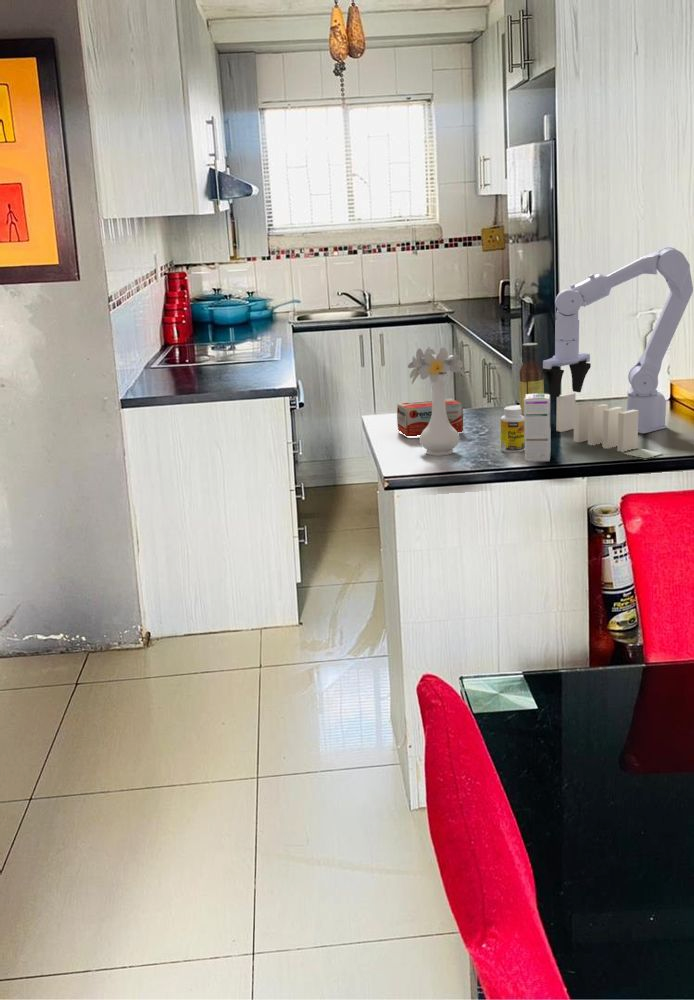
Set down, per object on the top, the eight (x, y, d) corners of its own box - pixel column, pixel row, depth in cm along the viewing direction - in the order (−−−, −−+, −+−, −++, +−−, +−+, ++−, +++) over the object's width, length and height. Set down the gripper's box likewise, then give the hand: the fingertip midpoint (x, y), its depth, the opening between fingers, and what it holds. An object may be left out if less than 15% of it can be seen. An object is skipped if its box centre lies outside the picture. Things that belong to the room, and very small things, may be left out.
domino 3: (587, 444, 251) (588, 407, 248) (602, 440, 253) (603, 403, 251) (592, 445, 249) (593, 408, 247) (607, 442, 252) (608, 404, 249)
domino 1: (556, 430, 265) (556, 395, 263) (570, 427, 268) (570, 392, 265) (561, 431, 264) (561, 396, 261) (574, 428, 267) (575, 393, 264)
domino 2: (573, 441, 254) (574, 404, 252) (587, 437, 257) (588, 401, 254) (578, 442, 253) (579, 405, 250) (592, 438, 256) (593, 402, 253)
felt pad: (641, 450, 243) (641, 448, 243) (662, 454, 239) (662, 453, 238) (624, 454, 240) (624, 453, 240) (645, 459, 235) (645, 458, 235)
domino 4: (602, 447, 247) (603, 410, 244) (616, 444, 250) (617, 406, 247) (607, 448, 246) (608, 411, 243) (622, 445, 248) (623, 407, 246)
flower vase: (449, 441, 260) (447, 339, 253) (477, 458, 243) (476, 349, 235) (398, 446, 257) (395, 343, 249) (424, 464, 240) (421, 354, 232)
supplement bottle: (505, 454, 245) (505, 411, 242) (497, 449, 250) (497, 406, 247) (528, 452, 246) (528, 409, 243) (519, 446, 251) (519, 404, 248)
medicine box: (452, 427, 275) (452, 397, 272) (464, 433, 267) (463, 402, 265) (397, 433, 271) (396, 402, 269) (407, 440, 264) (406, 408, 261)
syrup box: (550, 461, 237) (550, 398, 233) (523, 461, 238) (523, 398, 234) (550, 455, 243) (551, 393, 238) (524, 455, 244) (524, 393, 240)
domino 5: (617, 451, 243) (618, 412, 241) (631, 447, 246) (633, 409, 244) (622, 452, 242) (623, 413, 240) (637, 448, 245) (638, 410, 242)
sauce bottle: (547, 417, 280) (548, 342, 274) (538, 422, 275) (539, 346, 269) (524, 415, 284) (525, 341, 278) (515, 420, 279) (515, 345, 273)
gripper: (575, 334, 266) (574, 387, 270) (534, 341, 259) (533, 396, 262) (596, 337, 261) (595, 391, 265) (555, 344, 253) (554, 399, 257)
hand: (566, 394), depth 263 cm, fingers open, 7 cm apart
